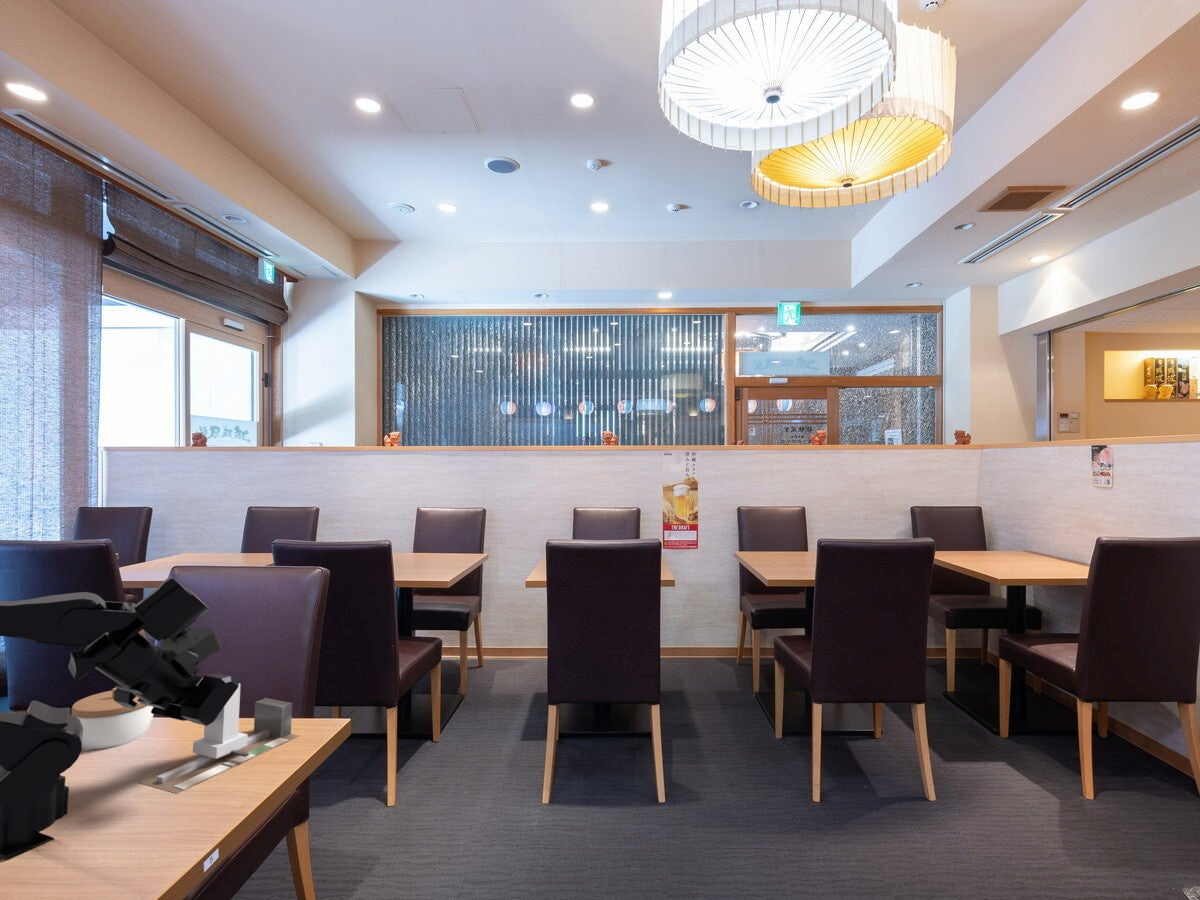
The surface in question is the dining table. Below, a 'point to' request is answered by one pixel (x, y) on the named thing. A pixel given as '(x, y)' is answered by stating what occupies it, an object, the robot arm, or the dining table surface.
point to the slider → (223, 732)
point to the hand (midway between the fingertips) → (213, 718)
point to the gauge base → (267, 735)
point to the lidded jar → (110, 721)
